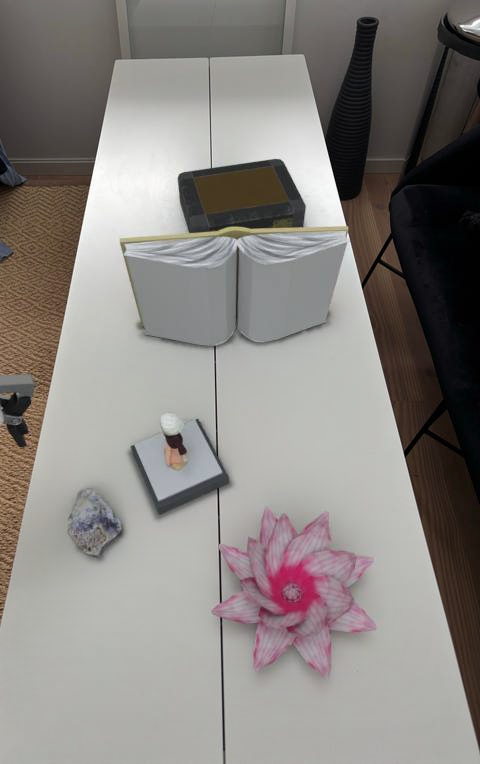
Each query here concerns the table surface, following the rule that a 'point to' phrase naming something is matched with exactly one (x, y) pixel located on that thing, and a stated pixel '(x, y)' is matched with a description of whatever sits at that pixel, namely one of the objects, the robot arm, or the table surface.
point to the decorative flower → (295, 590)
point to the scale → (190, 479)
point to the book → (234, 281)
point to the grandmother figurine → (174, 440)
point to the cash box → (241, 197)
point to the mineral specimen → (92, 523)
